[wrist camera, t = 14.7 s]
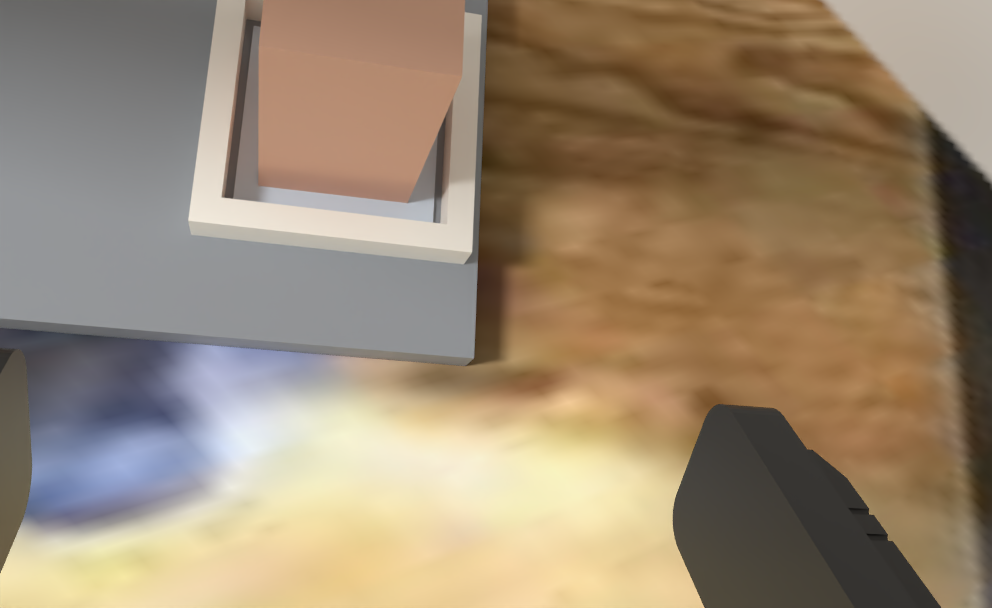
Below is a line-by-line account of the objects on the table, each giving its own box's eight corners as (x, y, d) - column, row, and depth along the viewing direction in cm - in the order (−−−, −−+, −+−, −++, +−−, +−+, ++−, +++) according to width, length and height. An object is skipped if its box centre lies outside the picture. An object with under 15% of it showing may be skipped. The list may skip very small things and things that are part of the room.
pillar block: (258, 185, 27) (258, 46, 20) (271, 52, 28) (277, -128, 21) (407, 203, 28) (462, 76, 21) (414, 73, 29) (468, -91, 22)
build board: (-186, 312, 24) (-231, 288, 22) (-80, -121, 28) (-109, -179, 26) (465, 366, 28) (483, 350, 26) (481, -18, 32) (498, -61, 30)
